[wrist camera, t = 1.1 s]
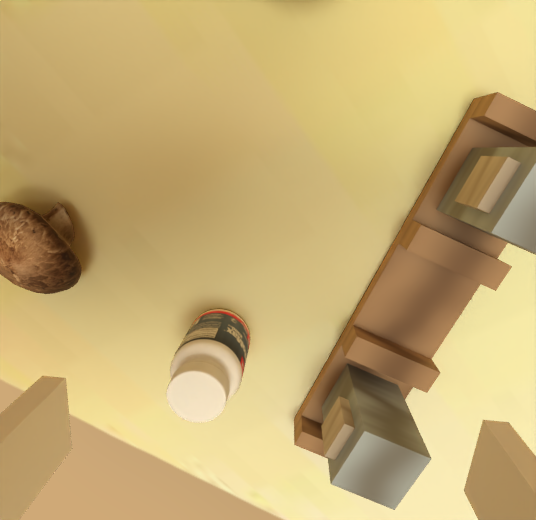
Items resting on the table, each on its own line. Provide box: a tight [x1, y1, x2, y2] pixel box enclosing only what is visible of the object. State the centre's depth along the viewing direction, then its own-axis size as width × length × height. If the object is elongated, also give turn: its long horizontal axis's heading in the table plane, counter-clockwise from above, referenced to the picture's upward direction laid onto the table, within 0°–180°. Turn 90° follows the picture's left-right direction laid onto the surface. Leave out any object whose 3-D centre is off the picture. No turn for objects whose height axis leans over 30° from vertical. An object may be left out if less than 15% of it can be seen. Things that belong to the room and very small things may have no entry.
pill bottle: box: [167, 309, 250, 423], centre depth 29 cm, size 5×5×9 cm
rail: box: [294, 92, 536, 510], centre depth 27 cm, size 7×30×9 cm, turn 156°
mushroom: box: [0, 202, 81, 294], centre depth 29 cm, size 8×8×6 cm
